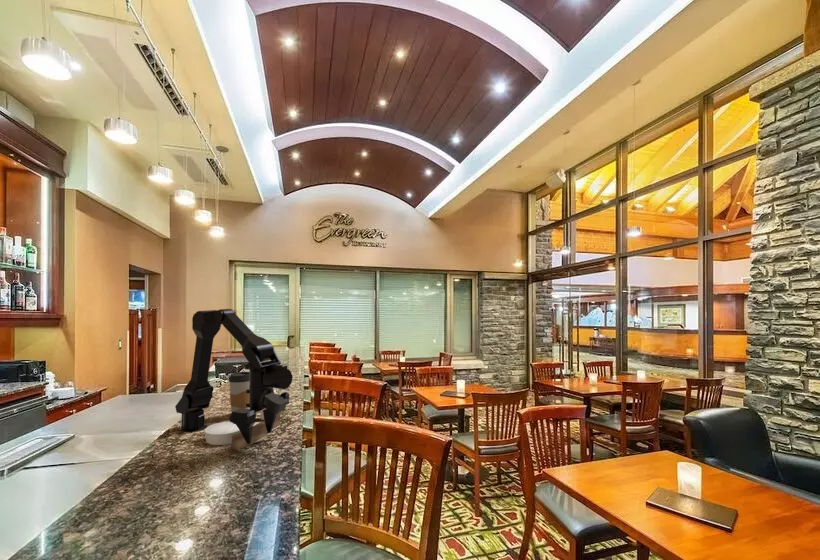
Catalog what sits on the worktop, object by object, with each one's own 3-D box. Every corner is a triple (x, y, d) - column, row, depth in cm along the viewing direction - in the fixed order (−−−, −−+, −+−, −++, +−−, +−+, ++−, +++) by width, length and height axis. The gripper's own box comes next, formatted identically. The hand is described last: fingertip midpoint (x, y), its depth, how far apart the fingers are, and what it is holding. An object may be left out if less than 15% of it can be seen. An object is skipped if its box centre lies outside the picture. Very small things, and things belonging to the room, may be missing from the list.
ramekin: (250, 444, 125) (250, 427, 125) (211, 455, 117) (211, 437, 117) (236, 434, 133) (236, 418, 133) (199, 444, 125) (199, 427, 125)
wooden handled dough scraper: (192, 446, 121) (192, 431, 121) (225, 431, 133) (225, 417, 133) (237, 452, 116) (237, 437, 116) (266, 436, 128) (266, 422, 128)
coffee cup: (247, 409, 157) (247, 370, 157) (256, 414, 151) (256, 373, 151) (224, 414, 151) (225, 373, 151) (233, 419, 145) (234, 377, 146)
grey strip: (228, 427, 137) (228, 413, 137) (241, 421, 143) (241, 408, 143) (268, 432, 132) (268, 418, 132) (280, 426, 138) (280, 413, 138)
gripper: (262, 395, 110) (261, 453, 110) (300, 380, 128) (300, 430, 128) (228, 392, 114) (227, 448, 113) (270, 377, 131) (270, 426, 131)
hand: (259, 437), depth 121 cm, fingers open, 9 cm apart
